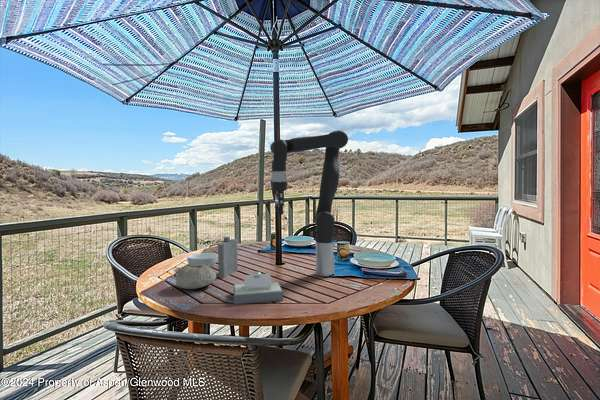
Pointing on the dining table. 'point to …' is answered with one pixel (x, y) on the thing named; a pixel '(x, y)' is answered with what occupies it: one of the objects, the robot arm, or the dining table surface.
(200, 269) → the beige squat rounded piece
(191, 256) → the cereal bowl
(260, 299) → the stand
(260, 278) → the housing
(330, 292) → the dining table surface
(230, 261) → the hip flask
